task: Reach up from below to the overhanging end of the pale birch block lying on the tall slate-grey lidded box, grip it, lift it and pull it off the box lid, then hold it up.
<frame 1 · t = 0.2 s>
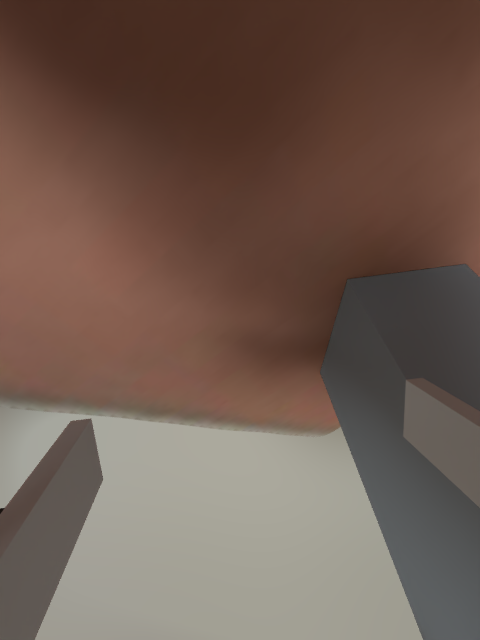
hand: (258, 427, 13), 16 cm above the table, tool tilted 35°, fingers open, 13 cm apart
lidded box: (382, 326, 36), on the table
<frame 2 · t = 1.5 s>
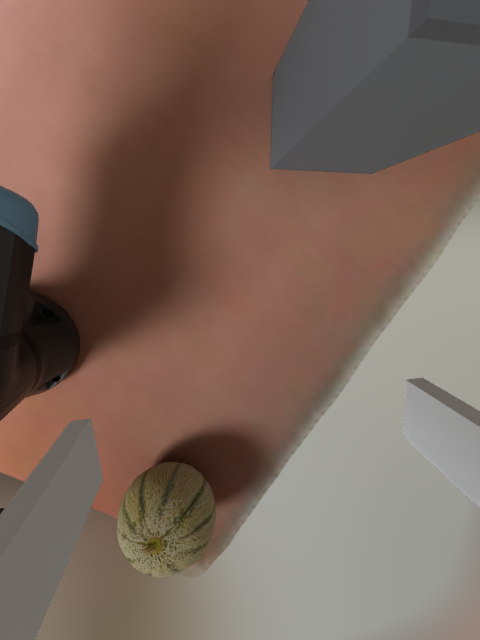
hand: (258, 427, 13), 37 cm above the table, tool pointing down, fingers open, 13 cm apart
lidded box: (325, 126, 46), on the table
cantaloupe: (171, 480, 56), on the table
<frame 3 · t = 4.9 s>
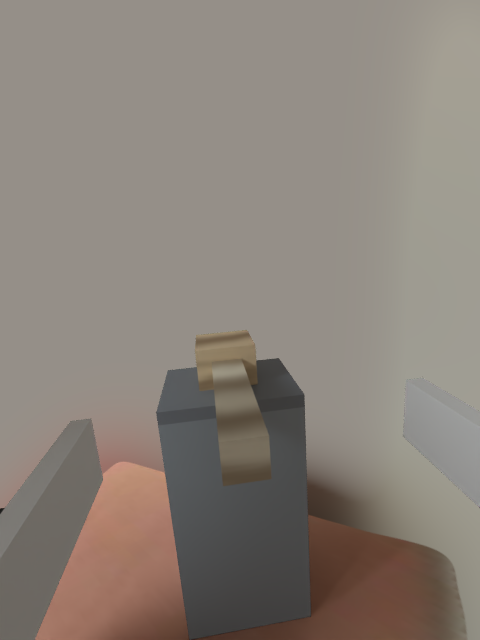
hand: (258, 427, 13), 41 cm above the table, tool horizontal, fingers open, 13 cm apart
lidded box: (245, 581, 47), on the table
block: (231, 403, 34), point 32 cm above the table, touching lidded box
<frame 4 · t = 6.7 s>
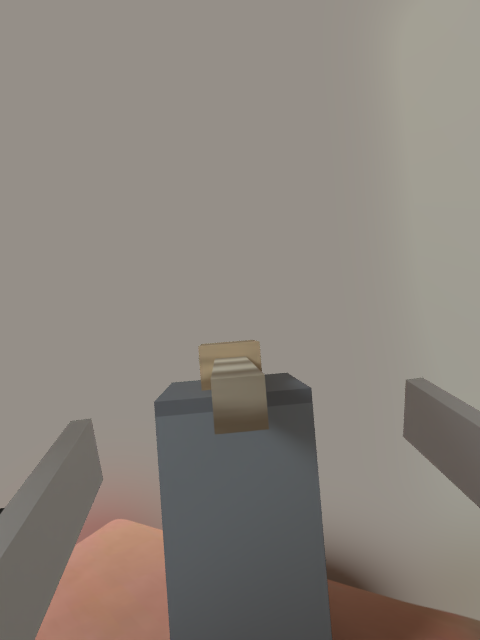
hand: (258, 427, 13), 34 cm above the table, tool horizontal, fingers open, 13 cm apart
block: (233, 394, 32), point 32 cm above the table, touching lidded box
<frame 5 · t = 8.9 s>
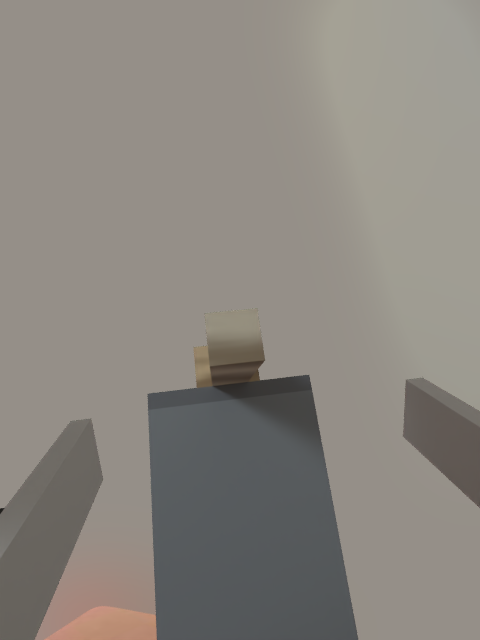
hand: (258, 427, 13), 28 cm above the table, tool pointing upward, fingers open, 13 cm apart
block: (230, 384, 31), point 32 cm above the table, touching lidded box
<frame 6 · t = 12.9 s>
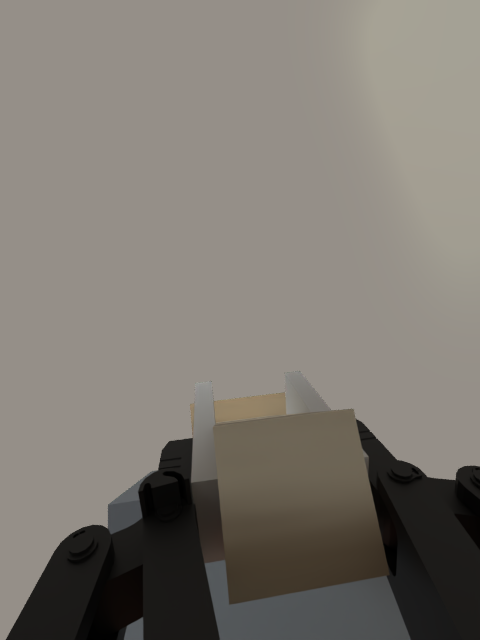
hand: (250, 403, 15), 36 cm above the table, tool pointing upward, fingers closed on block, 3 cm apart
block: (252, 483, 18), point 32 cm above the table, touching gripper, lidded box
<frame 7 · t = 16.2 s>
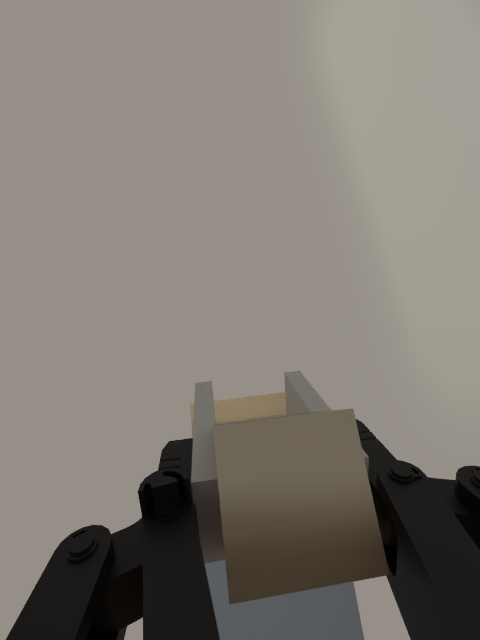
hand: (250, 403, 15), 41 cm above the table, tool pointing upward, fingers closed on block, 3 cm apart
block: (252, 483, 18), point 37 cm above the table, touching gripper
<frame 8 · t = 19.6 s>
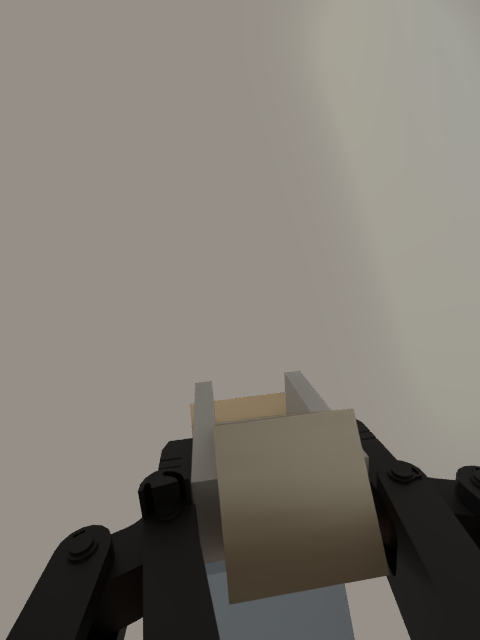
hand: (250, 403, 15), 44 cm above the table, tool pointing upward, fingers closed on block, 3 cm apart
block: (252, 483, 18), point 39 cm above the table, touching gripper
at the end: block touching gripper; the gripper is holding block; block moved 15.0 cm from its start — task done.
